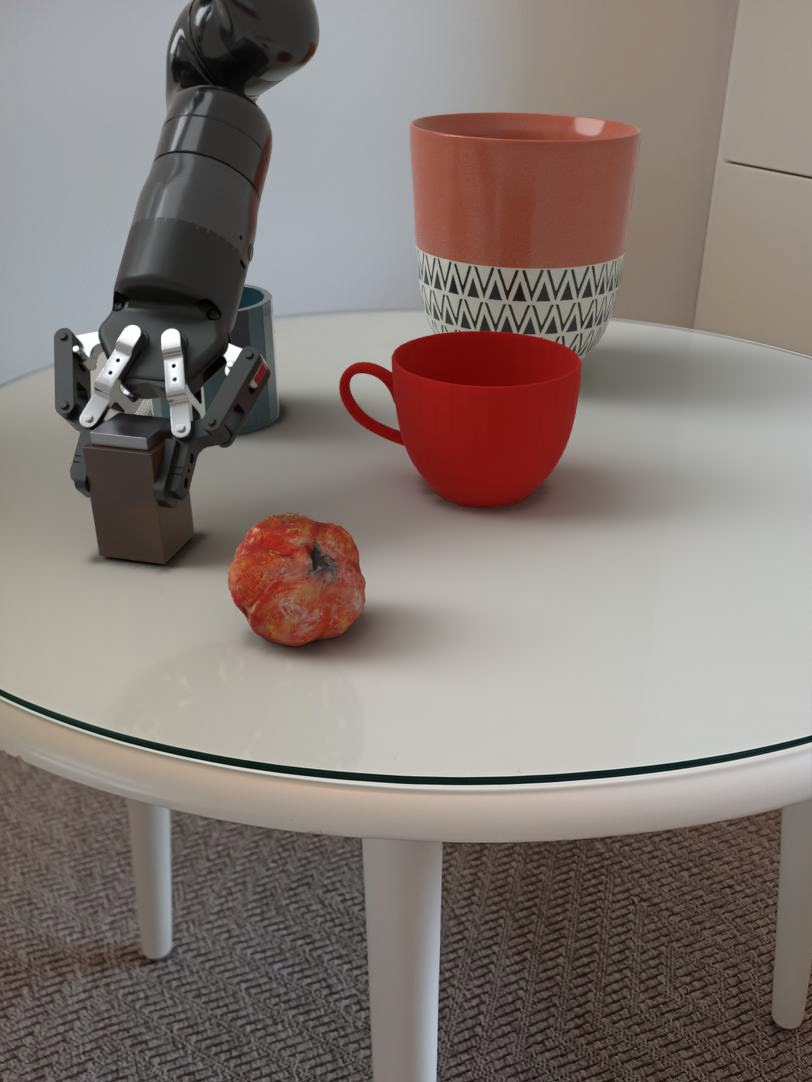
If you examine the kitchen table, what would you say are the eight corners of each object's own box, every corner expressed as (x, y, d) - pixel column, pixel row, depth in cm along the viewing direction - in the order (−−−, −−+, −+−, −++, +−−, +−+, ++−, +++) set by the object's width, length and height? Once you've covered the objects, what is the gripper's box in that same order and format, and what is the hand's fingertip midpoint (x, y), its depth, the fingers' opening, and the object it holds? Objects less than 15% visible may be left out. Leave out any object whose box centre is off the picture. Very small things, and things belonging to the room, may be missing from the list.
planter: (470, 334, 117) (474, 107, 106) (648, 364, 109) (673, 123, 98) (371, 386, 101) (365, 127, 91) (570, 424, 94) (589, 147, 83)
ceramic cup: (366, 448, 88) (363, 320, 83) (580, 468, 86) (590, 338, 81) (317, 515, 77) (309, 373, 72) (561, 540, 75) (571, 394, 70)
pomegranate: (220, 663, 65) (252, 637, 56) (208, 539, 66) (237, 494, 57) (344, 653, 68) (394, 627, 59) (331, 534, 69) (378, 490, 59)
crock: (143, 441, 88) (126, 313, 83) (164, 398, 97) (150, 280, 92) (274, 441, 89) (265, 314, 84) (284, 399, 98) (276, 281, 93)
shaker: (99, 556, 70) (79, 433, 66) (132, 527, 74) (115, 409, 69) (165, 564, 69) (149, 441, 65) (194, 534, 73) (181, 416, 69)
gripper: (58, 204, 69) (-17, 460, 65) (279, 221, 67) (215, 488, 63) (111, 274, 76) (47, 508, 72) (312, 291, 74) (257, 534, 70)
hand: (125, 497), depth 68 cm, fingers closed on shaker, 4 cm apart
